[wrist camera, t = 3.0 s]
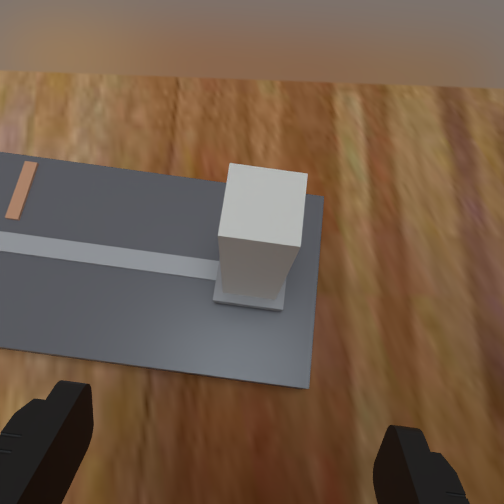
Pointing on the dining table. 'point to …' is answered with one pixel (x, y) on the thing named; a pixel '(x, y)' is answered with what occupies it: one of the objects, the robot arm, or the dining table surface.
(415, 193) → the dining table surface
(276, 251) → the fader tab
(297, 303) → the console
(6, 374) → the dining table surface
